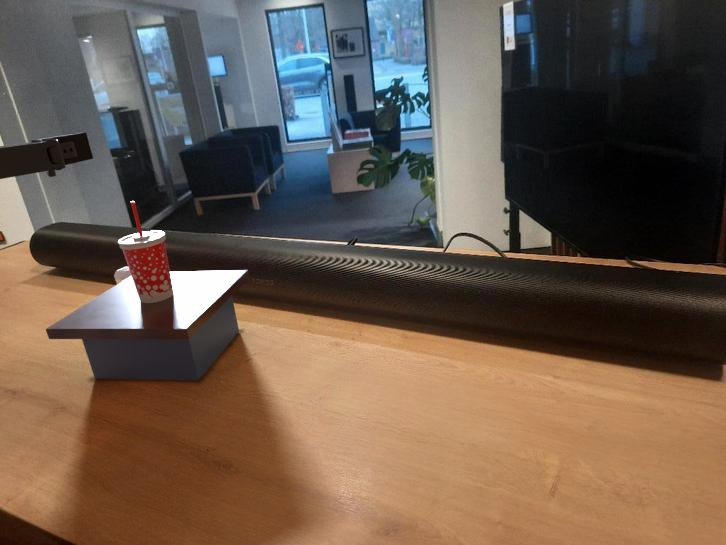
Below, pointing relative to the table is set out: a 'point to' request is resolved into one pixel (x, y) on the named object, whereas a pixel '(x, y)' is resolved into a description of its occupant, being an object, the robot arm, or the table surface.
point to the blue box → (164, 352)
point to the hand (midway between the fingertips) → (31, 150)
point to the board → (152, 309)
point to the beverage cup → (148, 263)
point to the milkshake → (122, 274)
